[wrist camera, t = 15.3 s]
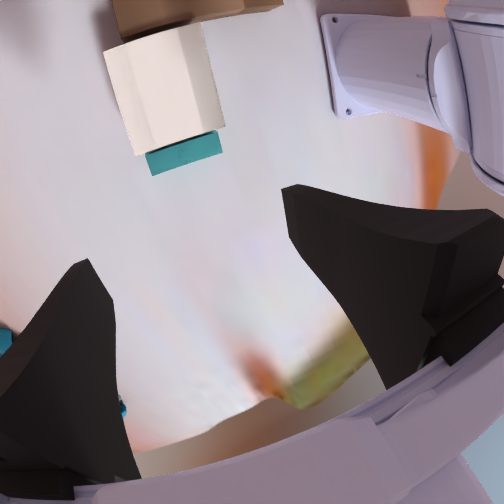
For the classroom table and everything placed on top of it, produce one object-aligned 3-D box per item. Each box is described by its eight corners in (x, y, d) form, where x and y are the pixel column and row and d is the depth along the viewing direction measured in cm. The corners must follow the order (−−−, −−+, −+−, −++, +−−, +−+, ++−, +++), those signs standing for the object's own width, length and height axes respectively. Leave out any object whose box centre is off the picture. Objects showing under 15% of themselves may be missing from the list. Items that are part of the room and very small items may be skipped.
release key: (184, 35, 14) (191, 27, 12) (212, 141, 19) (222, 152, 16) (118, 55, 14) (113, 51, 11) (151, 161, 18) (152, 176, 16)
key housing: (191, 31, 15) (200, 22, 12) (213, 118, 18) (225, 126, 16) (110, 56, 14) (103, 51, 11) (137, 143, 17) (135, 156, 15)
